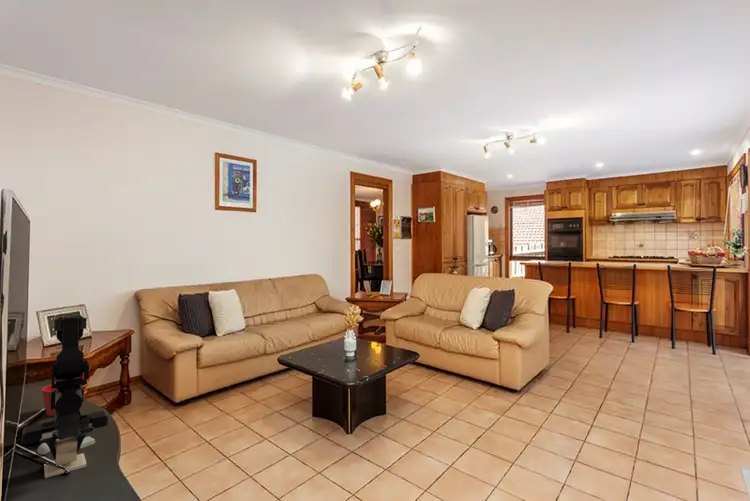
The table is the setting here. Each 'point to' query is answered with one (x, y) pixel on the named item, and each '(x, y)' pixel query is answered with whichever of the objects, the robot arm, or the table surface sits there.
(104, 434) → the table surface
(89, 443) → the tile
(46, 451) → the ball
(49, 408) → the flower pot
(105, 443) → the table surface
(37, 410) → the table surface
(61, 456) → the block
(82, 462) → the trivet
